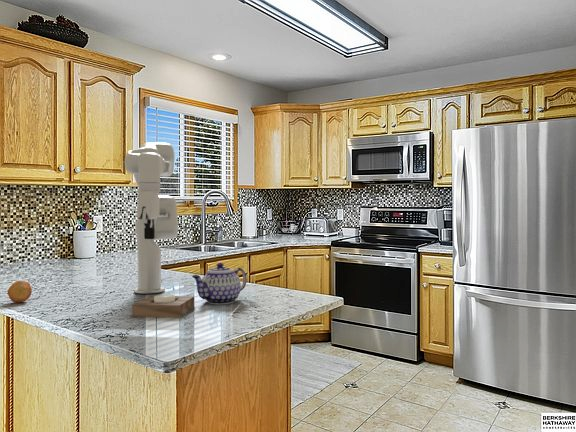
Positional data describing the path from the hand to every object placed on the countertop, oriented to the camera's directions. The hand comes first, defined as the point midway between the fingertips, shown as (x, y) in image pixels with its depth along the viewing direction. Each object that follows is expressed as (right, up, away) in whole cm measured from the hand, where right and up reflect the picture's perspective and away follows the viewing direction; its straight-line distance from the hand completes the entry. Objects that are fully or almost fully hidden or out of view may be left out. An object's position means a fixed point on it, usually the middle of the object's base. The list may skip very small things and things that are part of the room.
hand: (149, 238), depth 165 cm
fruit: (-55, -22, +14) cm, 61 cm away
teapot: (+24, -25, +10) cm, 36 cm away
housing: (+7, -25, -8) cm, 27 cm away
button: (+7, -23, -7) cm, 25 cm away
